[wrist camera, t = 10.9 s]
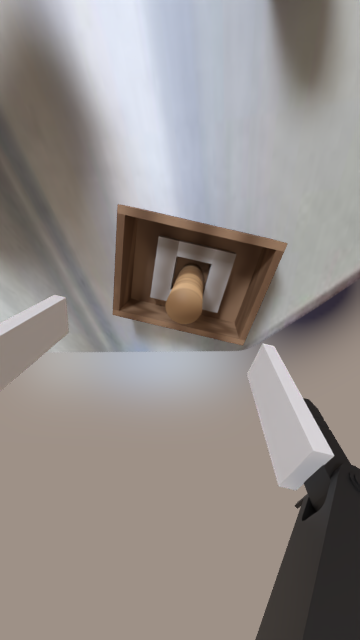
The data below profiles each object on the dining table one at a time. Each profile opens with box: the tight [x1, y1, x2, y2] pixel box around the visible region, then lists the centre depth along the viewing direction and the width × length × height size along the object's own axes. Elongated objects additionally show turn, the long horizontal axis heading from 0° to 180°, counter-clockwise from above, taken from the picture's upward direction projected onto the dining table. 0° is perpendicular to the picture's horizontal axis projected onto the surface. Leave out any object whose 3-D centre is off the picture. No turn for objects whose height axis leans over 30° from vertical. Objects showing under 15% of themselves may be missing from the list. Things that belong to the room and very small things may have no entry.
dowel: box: [165, 263, 203, 324], centre depth 27 cm, size 4×4×14 cm
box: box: [113, 204, 287, 345], centre depth 31 cm, size 22×16×6 cm
